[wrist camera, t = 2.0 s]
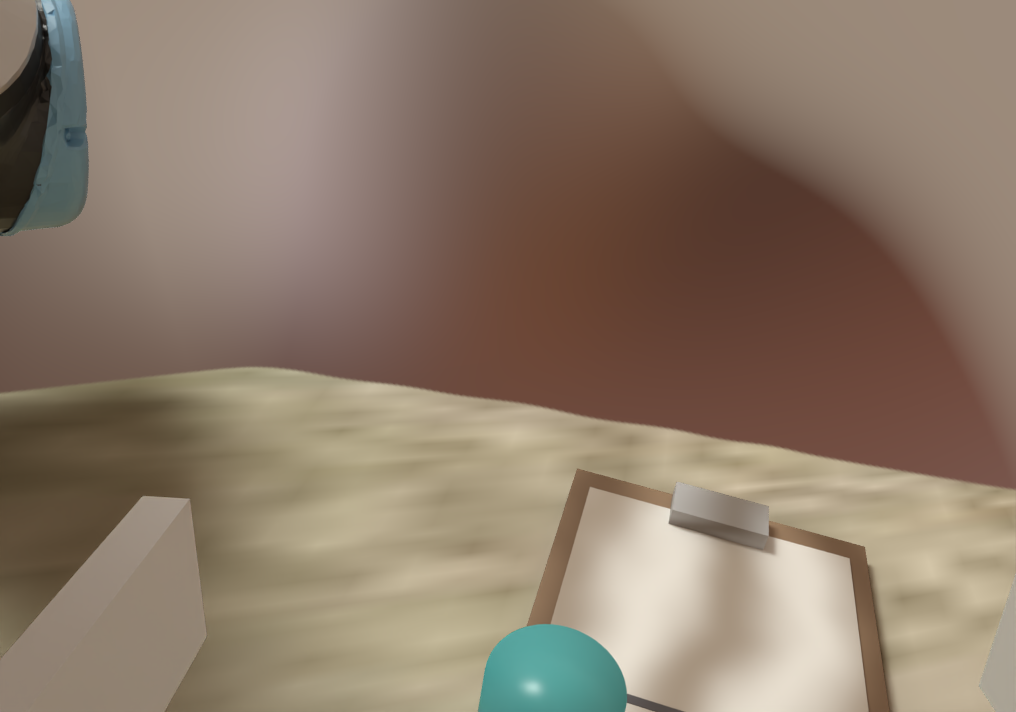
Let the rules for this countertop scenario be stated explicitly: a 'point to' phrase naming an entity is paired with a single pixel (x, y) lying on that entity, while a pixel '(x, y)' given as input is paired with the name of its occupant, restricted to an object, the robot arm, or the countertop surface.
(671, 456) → the countertop surface
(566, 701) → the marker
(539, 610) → the clipboard
